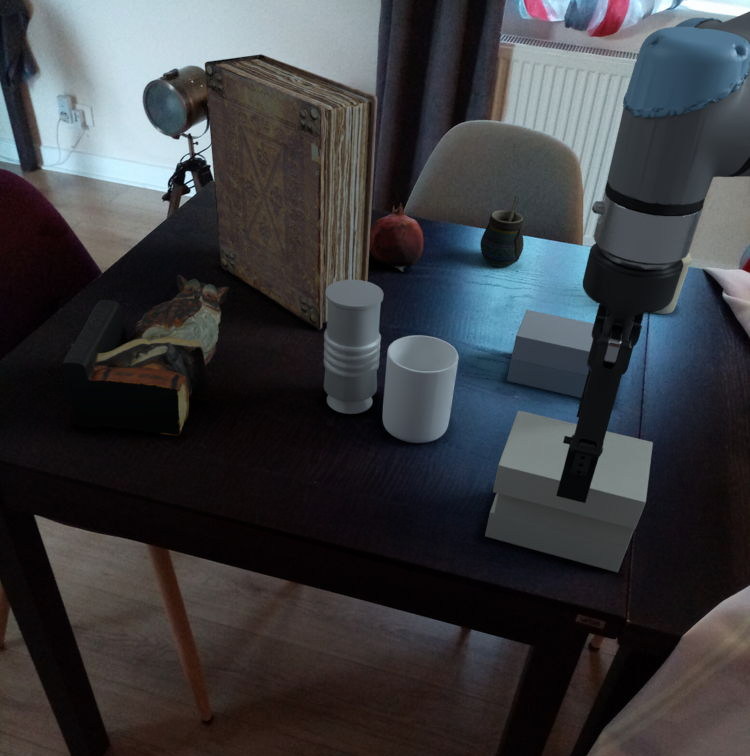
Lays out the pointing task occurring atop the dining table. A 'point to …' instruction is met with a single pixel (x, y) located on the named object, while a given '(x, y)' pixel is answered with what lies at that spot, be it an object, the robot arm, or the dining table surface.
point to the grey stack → (551, 353)
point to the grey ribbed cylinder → (352, 344)
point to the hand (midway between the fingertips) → (580, 455)
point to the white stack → (558, 532)
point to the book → (291, 179)
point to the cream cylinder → (679, 286)
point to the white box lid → (546, 462)
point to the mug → (419, 388)
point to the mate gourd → (503, 238)
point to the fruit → (396, 240)
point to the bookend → (145, 362)
